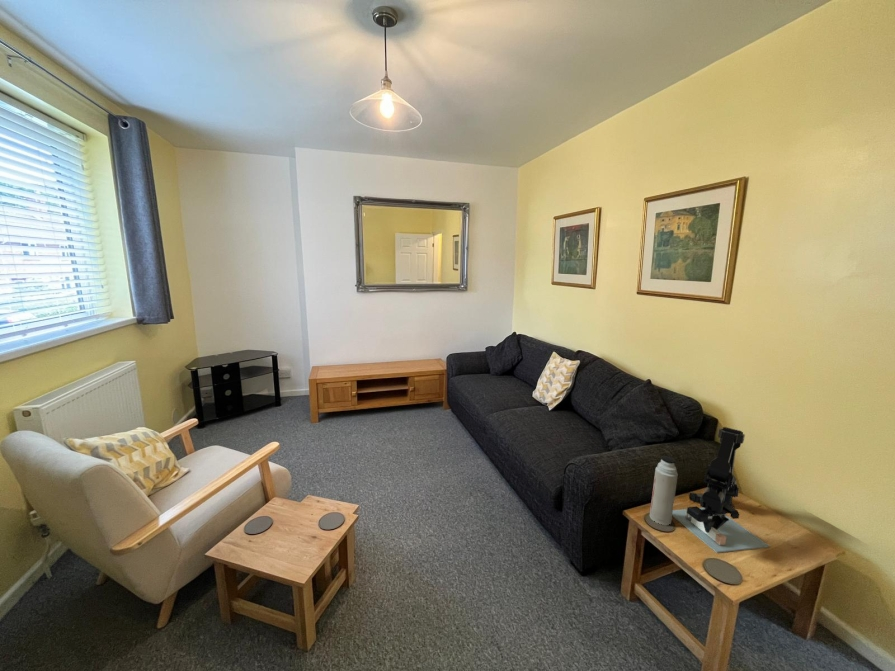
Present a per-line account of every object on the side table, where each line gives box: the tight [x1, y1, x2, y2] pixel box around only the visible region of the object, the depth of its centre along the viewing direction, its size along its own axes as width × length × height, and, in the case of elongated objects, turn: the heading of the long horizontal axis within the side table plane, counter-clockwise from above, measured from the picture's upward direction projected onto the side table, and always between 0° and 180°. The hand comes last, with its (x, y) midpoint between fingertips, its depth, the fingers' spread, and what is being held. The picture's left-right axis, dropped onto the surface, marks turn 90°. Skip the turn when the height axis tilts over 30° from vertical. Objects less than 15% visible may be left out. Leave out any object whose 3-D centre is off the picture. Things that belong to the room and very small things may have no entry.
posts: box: [685, 510, 692, 521], centre depth 152 cm, size 18×4×4 cm, turn 109°
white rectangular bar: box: [691, 517, 726, 545], centre depth 140 cm, size 13×2×3 cm, turn 9°
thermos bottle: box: [649, 455, 679, 526], centre depth 147 cm, size 8×8×28 cm
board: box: [672, 507, 771, 554], centre depth 145 cm, size 24×24×1 cm
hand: (709, 531), depth 139 cm, fingers closed on white rectangular bar, 2 cm apart
